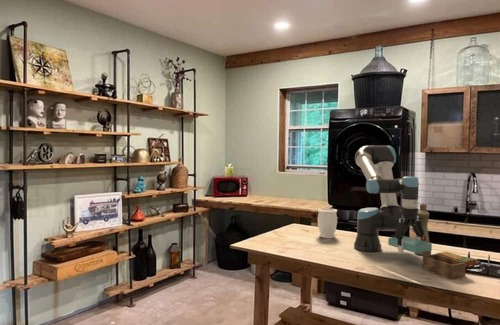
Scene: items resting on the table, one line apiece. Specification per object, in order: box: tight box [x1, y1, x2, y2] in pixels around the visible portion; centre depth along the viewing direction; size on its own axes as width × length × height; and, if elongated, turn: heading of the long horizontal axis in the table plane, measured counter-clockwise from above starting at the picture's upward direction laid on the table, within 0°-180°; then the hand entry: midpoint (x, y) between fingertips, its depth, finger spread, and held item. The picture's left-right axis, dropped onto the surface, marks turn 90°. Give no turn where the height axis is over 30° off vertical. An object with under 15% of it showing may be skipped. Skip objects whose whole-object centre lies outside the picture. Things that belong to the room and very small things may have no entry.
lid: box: [387, 235, 433, 254], centre depth 182 cm, size 17×11×4 cm, turn 25°
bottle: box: [414, 203, 432, 256], centre depth 198 cm, size 9×9×28 cm
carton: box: [435, 251, 477, 268], centre depth 182 cm, size 8×16×4 cm, turn 25°
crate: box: [422, 253, 467, 281], centre depth 166 cm, size 15×9×7 cm, turn 25°
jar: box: [317, 207, 338, 239], centre depth 238 cm, size 13×12×18 cm
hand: (409, 250), depth 182 cm, fingers closed on lid, 11 cm apart
